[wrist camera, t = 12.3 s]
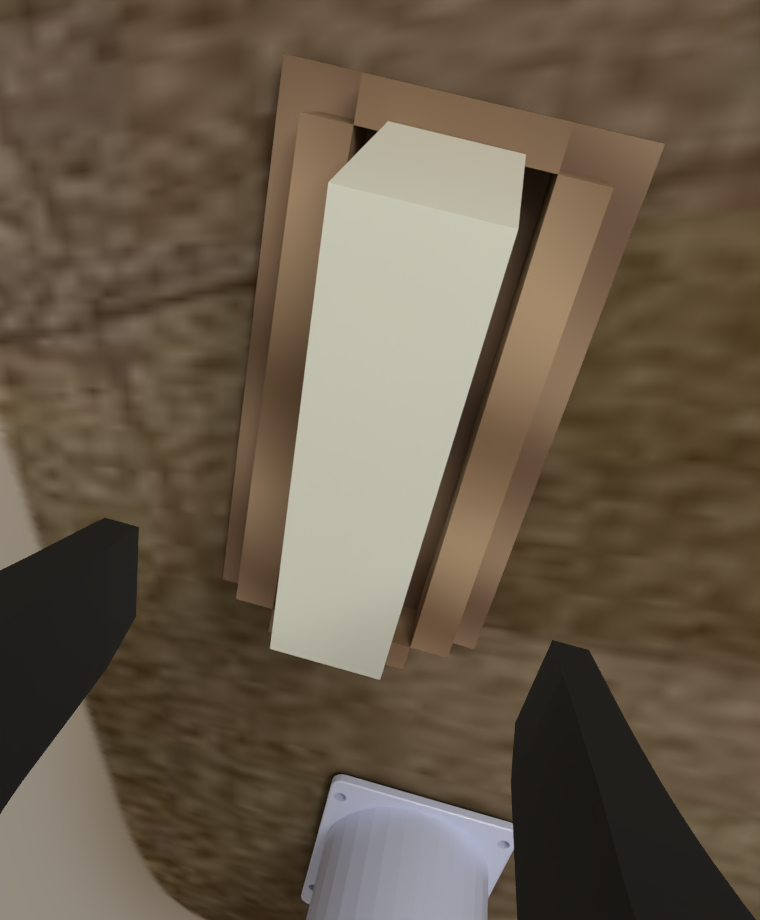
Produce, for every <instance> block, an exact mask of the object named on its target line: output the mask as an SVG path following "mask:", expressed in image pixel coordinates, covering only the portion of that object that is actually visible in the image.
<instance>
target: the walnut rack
mask: <svg viewBox="0 0 760 920" xmlns="http://www.w3.org/2000/svg"><path fill="white" fill-rule="evenodd" d="M388 121H390V122H394V123H398V124H402V125H406V126H411V127H415V128H419V129H423V130H427V131H431V132H435V133H440V134H444V135H448V136H452V137H456V138H460V139H464V140H469V141H473V142H477V143H481V144H485V145H489V146H493V147H498V148H502V149H506V150H510V151H514V152H518V153H522V154H526V159H525V169H524V179H523V189H522V198H521V208H520V218H519V228H518V232H517V235H516V238H515V242H514V245H513V248H512V252H511V255H510V258H509V261H508V265H507V268H506V271H505V274H504V278H503V281H502V284H501V287H500V291H499V294H498V297H497V300H496V304H495V307H494V310H493V313H492V317H491V320H490V323H489V326H488V330H487V333H486V336H485V340H484V343H483V346H482V349H481V353H480V356H479V359H478V362H477V366H476V369H475V372H474V375H473V379H472V382H471V385H470V388H469V392H468V395H467V398H466V401H465V405H464V408H463V411H462V414H461V418H460V421H459V424H458V428H457V431H456V434H455V437H454V441H453V444H452V447H451V450H450V454H449V457H448V460H447V463H446V467H445V470H444V473H443V476H442V480H441V483H440V486H439V489H438V493H437V496H436V499H435V502H434V506H433V509H432V512H431V516H430V519H429V522H428V525H427V529H426V532H425V535H424V538H423V542H422V545H421V548H420V551H419V555H418V558H417V561H416V564H415V568H414V571H413V574H412V577H411V581H410V584H409V587H408V590H407V594H406V597H405V600H404V604H403V607H402V610H401V613H400V617H399V620H398V623H397V626H396V630H395V633H394V636H393V639H392V643H391V646H390V649H389V652H388V656H387V659H386V662H385V665H388V666H391V667H395V668H399V669H402V670H403V669H404V666H405V663H406V660H407V656H408V653H409V650H410V647H411V648H414V649H418V650H421V651H425V652H428V653H432V654H436V655H439V656H443V657H446V658H448V655H449V652H450V650H451V647H452V644H453V643H454V644H457V645H461V646H465V647H468V648H472V649H474V648H475V646H476V643H477V640H478V638H479V635H480V632H481V630H482V627H483V624H484V622H485V619H486V616H487V614H488V611H489V608H490V606H491V603H492V601H493V598H494V595H495V593H496V590H497V587H498V585H499V582H500V579H501V577H502V574H503V571H504V569H505V566H506V563H507V561H508V558H509V556H510V553H511V550H512V548H513V545H514V542H515V540H516V537H517V534H518V532H519V529H520V526H521V524H522V521H523V518H524V516H525V513H526V511H527V508H528V505H529V503H530V500H531V497H532V495H533V492H534V489H535V487H536V484H537V481H538V479H539V476H540V473H541V471H542V468H543V465H544V463H545V460H546V458H547V455H548V452H549V450H550V447H551V444H552V442H553V439H554V436H555V434H556V431H557V428H558V426H559V423H560V420H561V418H562V415H563V413H564V410H565V407H566V405H567V402H568V399H569V397H570V394H571V391H572V389H573V386H574V383H575V381H576V378H577V375H578V373H579V370H580V368H581V365H582V362H583V360H584V357H585V354H586V352H587V349H588V346H589V344H590V341H591V338H592V336H593V333H594V330H595V328H596V325H597V323H598V320H599V317H600V315H601V312H602V309H603V307H604V304H605V301H606V299H607V296H608V293H609V291H610V288H611V285H612V283H613V280H614V278H615V275H616V272H617V270H618V267H619V264H620V262H621V259H622V256H623V254H624V251H625V248H626V246H627V243H628V240H629V238H630V235H631V232H632V230H633V227H634V225H635V222H636V219H637V217H638V214H639V211H640V209H641V206H642V203H643V201H644V198H645V195H646V193H647V190H648V187H649V185H650V182H651V180H652V177H653V174H654V172H655V169H656V166H657V164H658V161H659V158H660V156H661V153H662V150H663V148H664V145H665V144H663V143H659V142H654V141H650V140H646V139H642V138H638V137H633V136H629V135H625V134H621V133H617V132H612V131H608V130H604V129H600V128H596V127H591V126H587V125H583V124H579V123H574V122H570V121H566V120H562V119H558V118H553V117H549V116H545V115H541V114H537V113H532V112H528V111H524V110H520V109H516V108H511V107H507V106H503V105H499V104H495V103H490V102H486V101H482V100H478V99H474V98H469V97H465V96H461V95H457V94H452V93H448V92H444V91H440V90H436V89H431V88H427V87H423V86H419V85H415V84H410V83H406V82H402V81H398V80H394V79H389V78H385V77H381V76H377V75H373V74H368V73H364V72H360V71H356V70H351V69H347V68H343V67H339V66H335V65H330V64H326V63H322V62H318V61H314V60H309V59H305V58H301V57H297V56H293V55H288V54H283V62H282V71H281V80H280V88H279V97H278V106H277V114H276V123H275V131H274V140H273V149H272V157H271V166H270V175H269V183H268V192H267V200H266V209H265V218H264V226H263V235H262V244H261V252H260V261H259V269H258V278H257V287H256V295H255V304H254V312H253V321H252V330H251V338H250V347H249V356H248V364H247V373H246V381H245V390H244V399H243V407H242V416H241V425H240V433H239V442H238V450H237V459H236V468H235V476H234V485H233V494H232V502H231V511H230V519H229V528H228V537H227V545H226V554H225V563H224V571H223V580H227V581H230V582H234V583H237V584H238V588H237V596H236V599H238V600H242V601H245V602H249V603H253V604H256V605H260V606H263V607H267V608H270V609H272V614H271V620H270V626H269V632H270V633H272V628H273V620H274V612H275V604H276V596H277V588H278V580H279V572H280V564H281V556H282V548H283V541H284V533H285V525H286V517H287V509H288V501H289V493H290V485H291V477H292V469H293V461H294V453H295V445H296V437H297V429H298V421H299V413H300V405H301V397H302V389H303V381H304V373H305V365H306V357H307V349H308V341H309V333H310V325H311V317H312V309H313V301H314V293H315V285H316V277H317V269H318V261H319V253H320V245H321V237H322V229H323V221H324V213H325V205H326V197H327V189H328V182H329V181H330V180H331V179H332V178H333V177H334V176H335V175H336V174H337V173H338V172H339V171H340V170H341V169H342V168H343V167H344V166H345V165H346V164H347V163H348V162H349V161H350V160H351V159H352V158H353V157H354V156H355V154H356V153H357V152H358V151H359V150H360V149H361V148H362V147H363V146H364V145H365V144H366V143H367V142H368V141H369V140H370V139H371V138H372V137H373V136H374V135H375V134H376V133H377V132H378V131H379V130H380V129H381V128H382V127H383V126H384V125H385V124H386V123H387V122H388Z"/></svg>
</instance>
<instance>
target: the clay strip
mask: <svg viewBox="0 0 760 920" xmlns="http://www.w3.org/2000/svg"><path fill="white" fill-rule="evenodd" d="M525 159H526V154H522V153H518V152H514V151H510V150H506V149H502V148H498V147H493V146H489V145H485V144H481V143H477V142H473V141H469V140H464V139H460V138H456V137H452V136H448V135H444V134H440V133H435V132H431V131H427V130H423V129H419V128H415V127H411V126H406V125H402V124H398V123H394V122H390V121H388V122H387V123H386V124H385V125H384V126H383V127H382V128H381V129H380V130H379V131H378V132H377V133H376V134H375V135H374V136H373V137H372V138H371V139H370V140H369V141H368V142H367V143H366V144H365V145H364V146H363V147H362V148H361V149H360V150H359V151H358V152H357V153H356V154H355V156H354V157H353V158H352V159H351V160H350V161H349V162H348V163H347V164H346V165H345V166H344V167H343V168H342V169H341V170H340V171H339V172H338V173H337V174H336V175H335V176H334V177H333V178H332V179H331V180H330V181H329V182H328V189H327V197H326V205H325V213H324V221H323V229H322V237H321V245H320V253H319V261H318V269H317V277H316V285H315V293H314V301H313V309H312V317H311V325H310V333H309V341H308V349H307V357H306V365H305V373H304V381H303V389H302V397H301V405H300V413H299V421H298V429H297V437H296V445H295V453H294V461H293V469H292V477H291V485H290V493H289V501H288V509H287V517H286V525H285V533H284V541H283V548H282V556H281V564H280V572H279V580H278V588H277V596H276V604H275V612H274V620H273V628H272V636H271V644H270V649H272V650H276V651H279V652H283V653H287V654H290V655H294V656H297V657H301V658H304V659H308V660H311V661H315V662H318V663H322V664H326V665H329V666H333V667H336V668H340V669H343V670H347V671H350V672H354V673H358V674H361V675H365V676H368V677H372V678H375V679H379V680H380V678H381V675H382V672H383V669H384V665H385V662H386V659H387V656H388V652H389V649H390V646H391V643H392V639H393V636H394V633H395V630H396V626H397V623H398V620H399V617H400V613H401V610H402V607H403V604H404V600H405V597H406V594H407V590H408V587H409V584H410V581H411V577H412V574H413V571H414V568H415V564H416V561H417V558H418V555H419V551H420V548H421V545H422V542H423V538H424V535H425V532H426V529H427V525H428V522H429V519H430V516H431V512H432V509H433V506H434V502H435V499H436V496H437V493H438V489H439V486H440V483H441V480H442V476H443V473H444V470H445V467H446V463H447V460H448V457H449V454H450V450H451V447H452V444H453V441H454V437H455V434H456V431H457V428H458V424H459V421H460V418H461V414H462V411H463V408H464V405H465V401H466V398H467V395H468V392H469V388H470V385H471V382H472V379H473V375H474V372H475V369H476V366H477V362H478V359H479V356H480V353H481V349H482V346H483V343H484V340H485V336H486V333H487V330H488V326H489V323H490V320H491V317H492V313H493V310H494V307H495V304H496V300H497V297H498V294H499V291H500V287H501V284H502V281H503V278H504V274H505V271H506V268H507V265H508V261H509V258H510V255H511V252H512V248H513V245H514V242H515V238H516V235H517V232H518V228H519V218H520V208H521V198H522V189H523V179H524V169H525Z"/></svg>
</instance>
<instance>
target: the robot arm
mask: <svg viewBox="0 0 760 920" xmlns="http://www.w3.org/2000/svg"><path fill="white" fill-rule="evenodd" d="M138 532H139V527H136V526H133V525H129V524H125V523H122V522H118V521H114V520H111V519H107V518H104V519H102V520H100V521H98V522H95V523H93V524H91V525H89V526H87V527H85V528H83V529H81V530H79V531H77V532H75V533H74V534H72V535H70V536H68V537H66V538H64V539H62V540H60V541H58V542H56V543H54V544H52V545H50V546H48V547H46V548H44V549H42V550H41V551H39V552H37V553H35V554H33V555H31V556H29V557H27V558H25V559H23V560H21V561H19V562H17V563H15V564H12V565H11V566H9V567H7V568H4V569H2V570H0V813H1V812H2V810H3V808H4V807H5V806H6V804H7V803H8V801H9V800H10V798H11V797H12V795H13V794H14V793H15V791H16V789H17V788H18V786H19V785H20V784H21V782H22V781H23V780H24V778H25V777H26V776H27V774H28V773H29V771H30V770H31V769H32V768H33V766H34V765H35V763H36V762H37V761H38V760H39V758H40V757H41V756H42V754H43V753H44V751H45V750H46V749H47V747H48V746H49V745H50V744H51V742H52V741H53V740H54V738H55V737H56V735H57V734H58V733H59V731H60V730H61V729H62V728H63V726H64V725H65V724H66V722H67V721H68V720H69V718H70V717H71V716H72V714H73V713H74V712H75V710H76V709H77V708H78V706H79V705H80V704H81V702H82V701H83V699H84V698H85V697H86V695H87V694H88V693H89V691H90V690H91V689H92V687H93V686H94V685H95V683H96V682H97V680H98V679H99V678H100V676H101V675H102V674H103V672H104V671H105V669H106V668H107V666H108V665H109V663H110V661H111V660H112V658H113V656H114V654H115V653H116V651H117V649H118V648H119V646H120V644H121V642H122V641H123V639H124V637H125V635H126V633H127V631H128V630H129V628H130V626H131V624H132V622H133V621H134V619H135V617H136V593H137V563H138ZM511 793H512V817H513V823H511V822H508V821H504V820H501V819H497V818H494V817H490V816H487V815H483V814H480V813H477V812H473V811H470V810H466V809H463V808H459V807H456V806H452V805H449V804H445V803H442V802H438V801H435V800H432V799H428V798H425V797H421V796H418V795H414V794H411V793H407V792H404V791H400V790H397V789H393V788H390V787H387V786H383V785H380V784H376V783H373V782H369V781H366V780H362V779H359V778H355V777H352V776H348V775H344V774H339V775H336V776H334V778H333V779H332V783H331V787H330V790H329V794H328V798H327V801H326V805H325V809H324V812H323V816H322V820H321V824H320V827H319V831H318V835H317V838H316V842H315V846H314V849H313V853H312V857H311V860H310V864H309V868H308V872H307V875H306V879H305V883H304V886H303V890H302V894H301V898H302V900H303V901H304V902H305V903H307V904H310V905H309V909H308V913H307V918H306V920H487V913H488V898H489V896H490V894H491V892H492V890H493V888H494V886H495V884H496V882H497V880H498V878H499V877H500V875H501V873H502V871H503V869H504V867H505V865H506V863H507V861H508V859H509V857H510V855H511V854H512V852H513V850H514V859H515V879H516V899H517V919H518V920H756V919H755V918H754V917H753V915H752V914H751V913H750V912H749V910H748V909H747V908H746V906H745V905H744V904H743V902H742V901H741V900H740V898H739V897H738V895H737V894H736V893H735V891H734V890H733V889H732V887H731V886H730V885H729V883H728V882H727V880H726V879H725V878H724V876H723V875H722V874H721V872H720V871H719V870H718V868H717V867H716V865H715V864H714V863H713V861H712V860H711V859H710V857H709V856H708V854H707V853H706V851H705V850H704V848H703V847H702V845H701V844H700V843H699V841H698V840H697V838H696V837H695V835H694V834H693V832H692V831H691V829H690V827H689V826H688V824H687V823H686V821H685V820H684V818H683V817H682V815H681V813H680V812H679V810H678V809H677V807H676V806H675V804H674V803H673V801H672V799H671V798H670V796H669V795H668V793H667V791H666V790H665V788H664V786H663V785H662V783H661V781H660V780H659V778H658V776H657V775H656V773H655V771H654V769H653V768H652V766H651V764H650V762H649V761H648V759H647V757H646V755H645V754H644V752H643V750H642V748H641V747H640V745H639V743H638V741H637V740H636V738H635V736H634V734H633V732H632V731H631V729H630V727H629V725H628V723H627V721H626V720H625V718H624V716H623V714H622V712H621V710H620V708H619V706H618V705H617V703H616V701H615V699H614V697H613V695H612V693H611V691H610V689H609V687H608V685H607V683H606V682H605V680H604V678H603V676H602V674H601V672H600V670H599V668H598V666H597V664H596V662H595V661H594V659H593V657H592V655H591V653H590V651H589V650H587V649H583V648H579V647H576V646H572V645H568V644H565V643H561V642H557V641H554V640H552V642H551V645H550V647H549V649H548V651H547V653H546V656H545V658H544V660H543V662H542V665H541V667H540V669H539V671H538V674H537V676H536V678H535V680H534V682H533V685H532V687H531V689H530V691H529V694H528V696H527V698H526V700H525V703H524V705H523V707H522V709H521V711H520V714H519V716H518V718H517V720H516V723H515V734H514V747H513V760H512V777H511Z"/></svg>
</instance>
